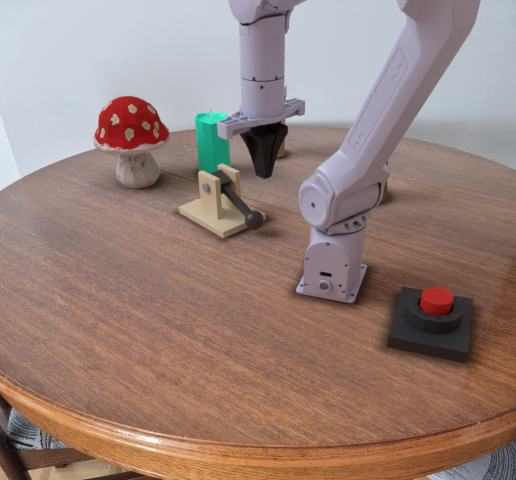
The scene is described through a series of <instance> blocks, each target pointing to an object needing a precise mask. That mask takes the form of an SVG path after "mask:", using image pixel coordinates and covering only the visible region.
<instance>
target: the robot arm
mask: <svg viewBox="0 0 516 480" xmlns="http://www.w3.org/2000/svg"><path fill="white" fill-rule="evenodd" d="M306 1H307V0H228V5H229V8H230V12H231V13H232V15H233V17H234V18H235V20H236V21H237V22H238V36H239V37H238V38H239V62H240V63H239V65H240V66H239V68H240V92H241V93H240V95H241V104H239V110H238V111H236V112H234V113H233V114H231V115H229V116H228V118H226V119H224V120H221V121H218V122H217V129H218V137H220V138H223V139H225V140H229V141H230V140H232V139H234V138H233V137H234V136H237V135H239V136H240V137H241V139H242V141H243V142H244V144H245V146H246V148H247V151H248V153H249V156H250V158H251V162H252V166H253V169H254V173H255V176H257V177H258V178H261V179H263V180H267V179H270V178H272V176H273V172H274V168H275V164H276V160H277V158H276V157H277V154H278V151H279V149H280V147H281V144H282V142H283V141H284V139H285V140H286V137H287V136H288V134H289V126H288V124H285V125H284V124H281V120H283V119H285V120H286V119H289V118H293V117H294V116H297V117H302V116H304V115H306V100H304V99H301V98H298V97H293V98H289V99H286V100H284V83H285V70H286V69H285V68H286V67H285V64H286V63H285V61H286V60H285V59H286V34H287V33H289V31H288V30H290V18H291V15H292V13H293V11H294V9H295V7H296V6H299V5H301V4H302V3H304V2H306ZM481 1H482V0H396V3H397V6H398V8H399V10H400V11H401V12H402V13H404V14H405V18H406V19H405V20H406V22H405V25H404V27H403V28H402V31H401V33H400V35H399V36H398V38H397V40H396V42H395V44H394V45H393V47H392V50H391V52H390V53H389V55H388V57H387V59H386V61H385V63H384V64H383V66H382V67H381V70H380V72H379V74H378V75H377V78H376V80H375V82H374V83H373V85H372V87H371V89H370V91H369V93H368V95H367V96H366V98H365V100H364V102H363V105H362V106H361V108H360V110H359V112H358V113H357V116H356V118H355V119H354V120H353V123H352V125H351V127H350V128H349V130H348V132H347V134H346V136H345V138H344V139H343V141H342V144H341V145H340V148H339V149H338V150H337V151H336V152H334V154H332V155H331V156H329V157H328V158H327V159H326V160H325V161H323V162H322V163H321V164H320V165H319V166H318V167H317V168H316V170H315V172H314V173H313V175H312V176H311V177H309V178H307V179H305V180H304V181H303V182H302V183H301V185H300V186H299V190H298V207H299V210H300V213H301V215H302V217H303V219H304V220H305V221H306V223H307V224H308V225H310V233H309V245H308V246H307V248H306V250H305V254H304V262H303V263H304V265H303V275H302V277H301V279H300V281H299V283H298V284H297V287H296V288H295V292H296V293H297V294H299V295H303V296H304V295H305V296H309V297H314V298H319V299H320V298H321V299H325V300H330V301H334V302H335V301H336V302H339V303H340V302H341V303H345V304H354V303H355V301H356V300H357V299H356V298H357V296H358V294H359V291H360V287H361V286H362V283H363V280H364V277H365V275H366V272H367V269H368V265H367V264H365V263H362V262H363V254H364V246H365V240H366V239H365V238H366V233H367V232H366V231H367V223H368V220H369V219H371V218H372V210H373V209H375V208H377V207H378V206H379V205H380V204H381V203H380V202H381V200H382V197H383V192H384V186H385V183H386V181H387V182H388V180H389V178H390V176H391V171H390V168H389V167H387V164H386V162H387V160H388V161H389V160H390V157H391V156H392V154H393V153H394V151H395V149H397V147H398V145H399V144H400V142H401V140H402V139H403V137H404V136H405V135H406V133H407V131H408V129H409V128H410V127H411V125H412V124H413V122H414V120H415V119H416V117H417V116H418V114H419V113H420V111H421V110H422V108H423V107H424V105H425V103H426V102H427V100H428V99H429V97H430V96H431V95H432V93H433V91H434V90H435V88H436V86H437V85H438V84H439V82H440V81H441V79H442V78H443V76H444V74H445V73H446V71H447V70H448V68H449V66H450V65H451V63H452V62H453V60H454V59H455V57H456V56H457V54H458V53H459V51H460V50H461V48H462V46H463V45H464V43H465V42H466V41H467V39H468V37H470V36H469V35H470V34H471V32H472V30H473V28H474V26H475V25H476V21H477V18H478V13H479V9H480V5H481ZM379 203H380V204H379Z"/></svg>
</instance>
